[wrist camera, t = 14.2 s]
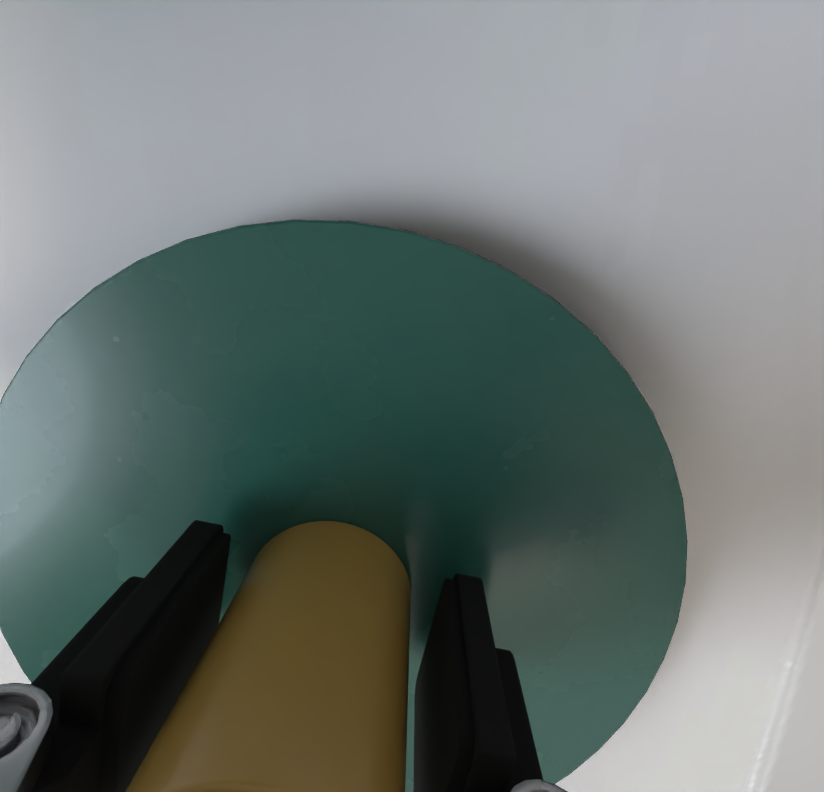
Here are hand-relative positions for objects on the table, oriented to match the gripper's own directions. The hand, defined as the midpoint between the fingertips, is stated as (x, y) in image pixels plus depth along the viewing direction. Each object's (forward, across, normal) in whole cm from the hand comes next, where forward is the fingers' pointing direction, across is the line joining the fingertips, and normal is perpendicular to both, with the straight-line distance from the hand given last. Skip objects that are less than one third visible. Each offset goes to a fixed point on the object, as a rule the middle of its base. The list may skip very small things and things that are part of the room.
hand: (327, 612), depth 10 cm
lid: (+1, 0, 0) cm, 1 cm away
